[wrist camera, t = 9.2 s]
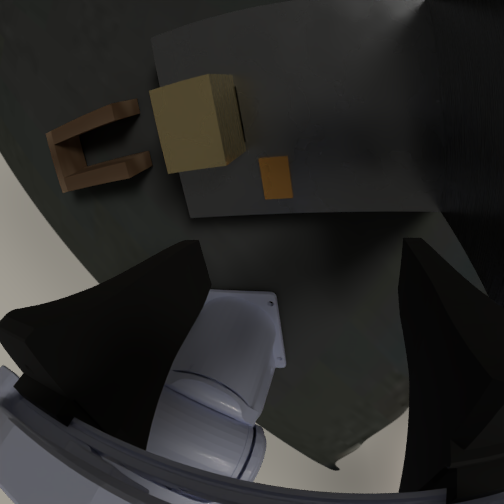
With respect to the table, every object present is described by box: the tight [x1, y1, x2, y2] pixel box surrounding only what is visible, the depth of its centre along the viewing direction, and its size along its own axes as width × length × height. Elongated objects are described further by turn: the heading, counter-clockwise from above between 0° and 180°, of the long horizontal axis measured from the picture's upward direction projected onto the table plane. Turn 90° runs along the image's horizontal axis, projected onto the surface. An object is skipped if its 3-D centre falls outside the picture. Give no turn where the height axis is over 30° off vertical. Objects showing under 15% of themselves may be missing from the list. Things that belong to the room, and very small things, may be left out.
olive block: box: [149, 74, 246, 174], centre depth 16 cm, size 4×3×6 cm
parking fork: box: [46, 99, 153, 193], centre depth 20 cm, size 5×8×3 cm
